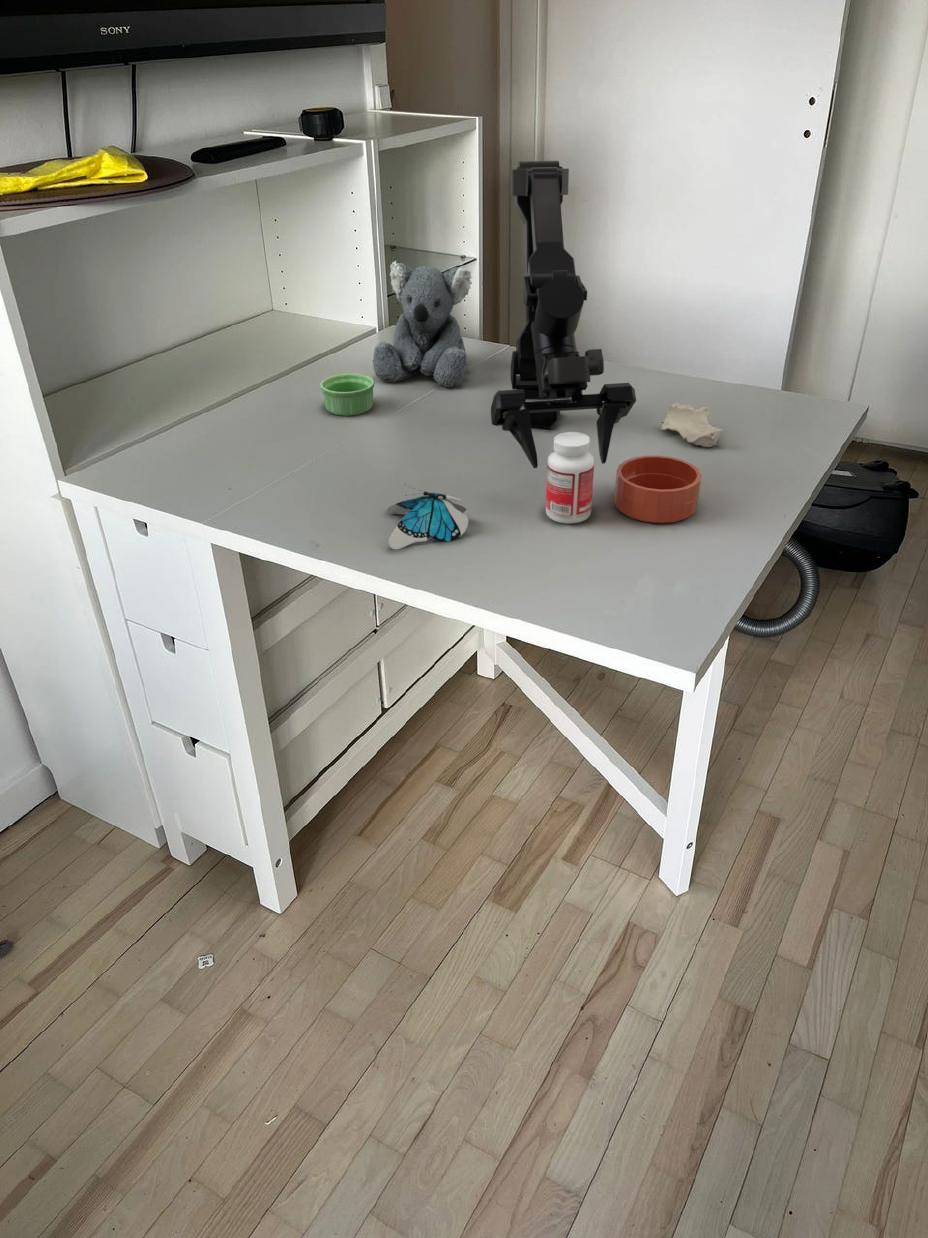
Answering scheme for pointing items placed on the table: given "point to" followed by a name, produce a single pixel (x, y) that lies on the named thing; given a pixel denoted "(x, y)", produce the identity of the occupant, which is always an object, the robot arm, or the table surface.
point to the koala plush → (425, 326)
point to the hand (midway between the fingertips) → (570, 464)
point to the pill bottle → (570, 478)
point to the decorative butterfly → (428, 520)
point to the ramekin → (348, 394)
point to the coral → (691, 424)
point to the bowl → (657, 488)
